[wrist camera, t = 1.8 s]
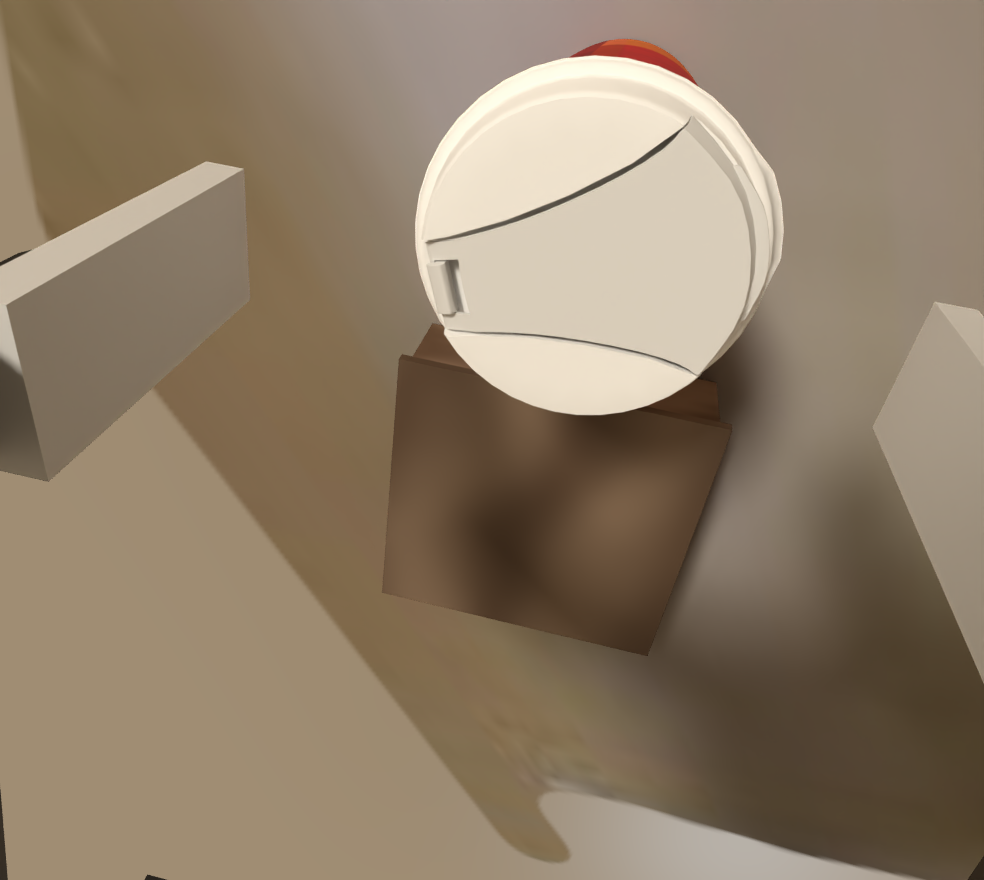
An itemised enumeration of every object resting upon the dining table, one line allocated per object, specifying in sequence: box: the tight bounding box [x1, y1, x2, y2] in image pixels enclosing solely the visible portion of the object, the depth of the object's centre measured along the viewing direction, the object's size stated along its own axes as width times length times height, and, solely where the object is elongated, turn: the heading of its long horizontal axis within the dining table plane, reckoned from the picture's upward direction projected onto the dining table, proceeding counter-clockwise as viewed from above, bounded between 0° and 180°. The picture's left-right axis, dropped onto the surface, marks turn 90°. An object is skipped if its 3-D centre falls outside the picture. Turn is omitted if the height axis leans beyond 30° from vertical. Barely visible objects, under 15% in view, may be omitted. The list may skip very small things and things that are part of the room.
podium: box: [382, 323, 732, 656], centre depth 34 cm, size 13×13×4 cm
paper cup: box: [415, 39, 784, 415], centre depth 21 cm, size 8×8×14 cm
